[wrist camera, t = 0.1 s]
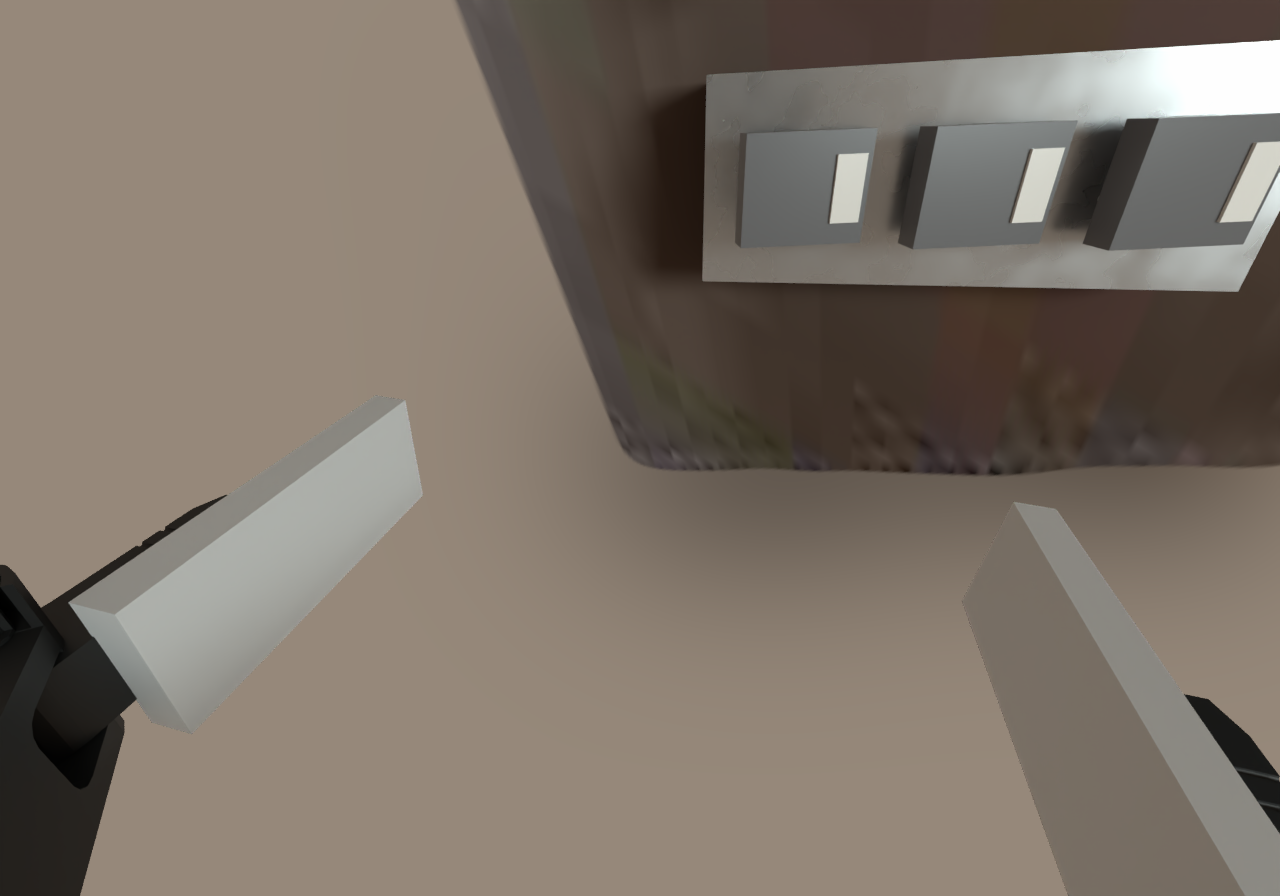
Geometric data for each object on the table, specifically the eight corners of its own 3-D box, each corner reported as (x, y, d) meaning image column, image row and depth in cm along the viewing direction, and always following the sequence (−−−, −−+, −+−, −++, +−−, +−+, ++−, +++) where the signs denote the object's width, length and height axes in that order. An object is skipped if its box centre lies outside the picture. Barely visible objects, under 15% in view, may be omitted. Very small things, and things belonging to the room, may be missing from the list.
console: (717, 80, 31) (704, 74, 26) (1275, 48, 26) (1386, 32, 21) (712, 266, 36) (700, 289, 32) (1174, 273, 31) (1244, 301, 26)
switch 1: (740, 132, 26) (747, 133, 25) (864, 127, 26) (879, 127, 25) (734, 242, 29) (741, 248, 27) (848, 237, 29) (860, 243, 28)
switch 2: (920, 126, 25) (940, 126, 23) (1052, 120, 25) (1080, 120, 23) (897, 243, 27) (914, 250, 26) (1017, 237, 27) (1040, 244, 26)
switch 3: (1127, 118, 23) (1162, 118, 22) (1268, 112, 23) (1313, 111, 22) (1082, 243, 26) (1111, 251, 24) (1209, 237, 26) (1246, 245, 24)
